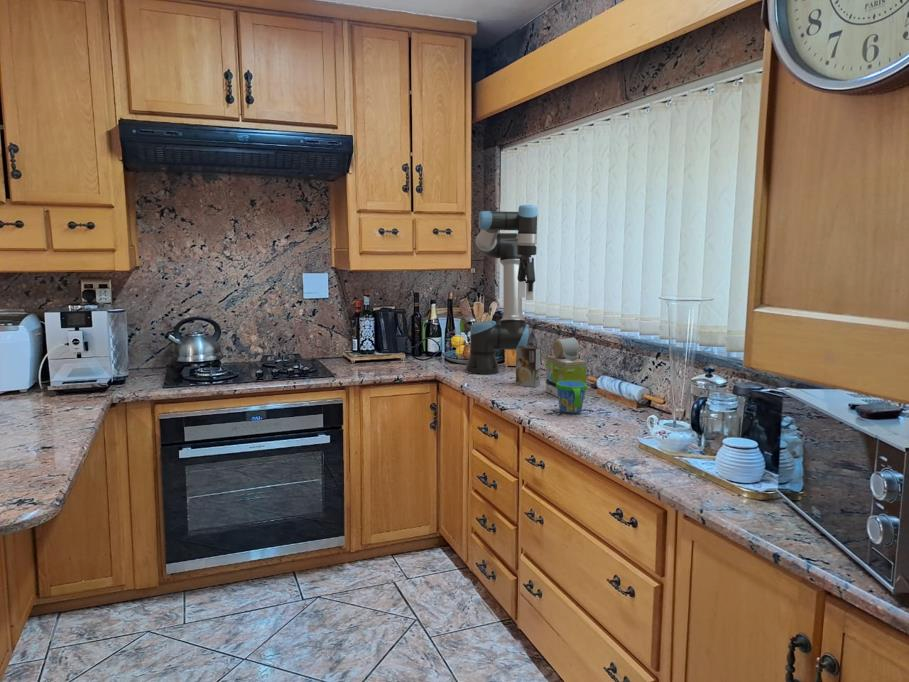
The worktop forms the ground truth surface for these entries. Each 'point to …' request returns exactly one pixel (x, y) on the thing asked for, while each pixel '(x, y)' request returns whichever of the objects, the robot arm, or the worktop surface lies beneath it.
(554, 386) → the tea box
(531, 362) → the coffee box
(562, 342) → the ceramic mug
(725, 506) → the worktop surface
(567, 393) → the snack cup
